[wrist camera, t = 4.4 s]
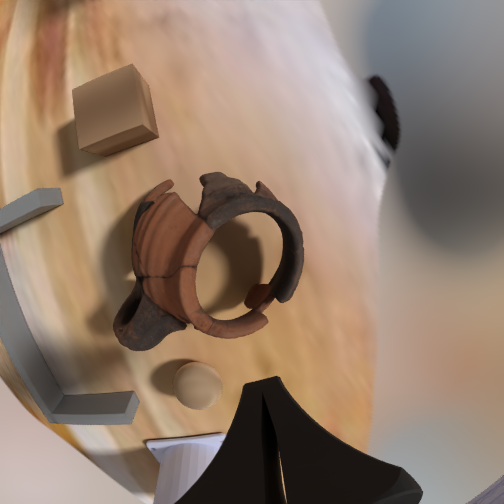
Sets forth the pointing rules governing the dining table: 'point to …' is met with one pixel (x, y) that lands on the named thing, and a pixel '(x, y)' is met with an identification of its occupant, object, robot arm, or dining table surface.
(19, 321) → the corral
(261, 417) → the robot arm
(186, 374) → the cork ball
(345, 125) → the dining table surface
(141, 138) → the walnut block
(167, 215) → the pottery mug
